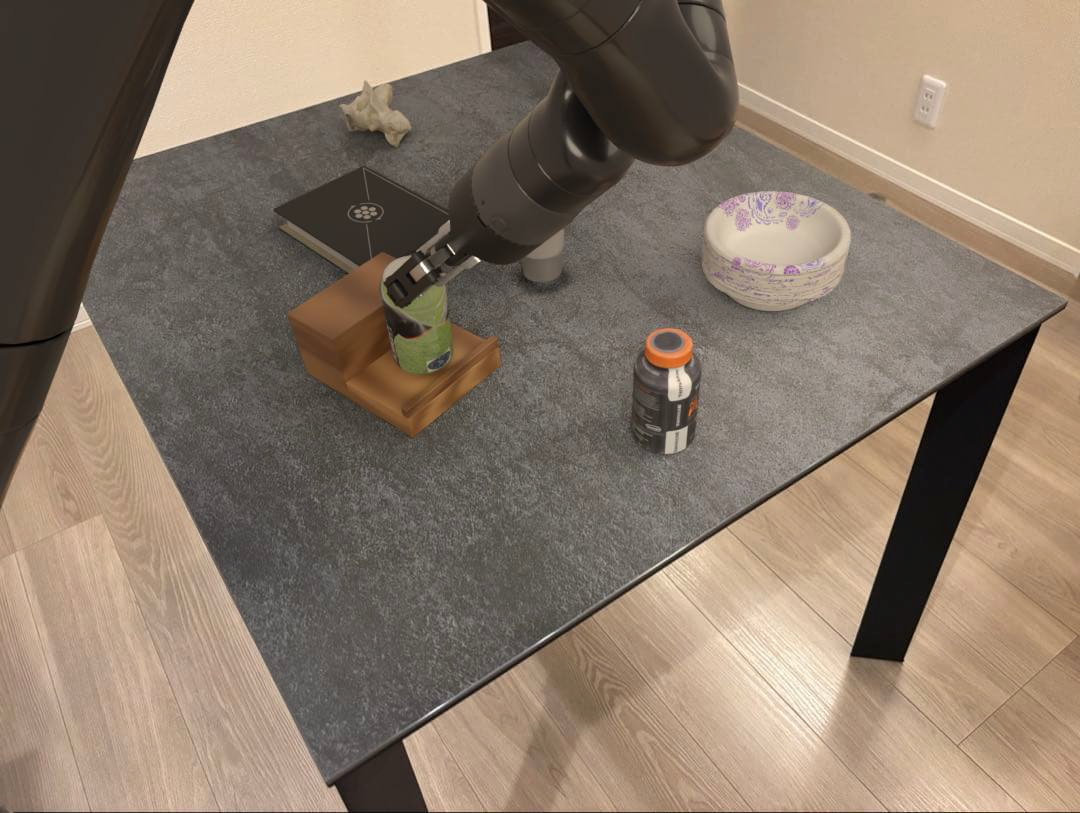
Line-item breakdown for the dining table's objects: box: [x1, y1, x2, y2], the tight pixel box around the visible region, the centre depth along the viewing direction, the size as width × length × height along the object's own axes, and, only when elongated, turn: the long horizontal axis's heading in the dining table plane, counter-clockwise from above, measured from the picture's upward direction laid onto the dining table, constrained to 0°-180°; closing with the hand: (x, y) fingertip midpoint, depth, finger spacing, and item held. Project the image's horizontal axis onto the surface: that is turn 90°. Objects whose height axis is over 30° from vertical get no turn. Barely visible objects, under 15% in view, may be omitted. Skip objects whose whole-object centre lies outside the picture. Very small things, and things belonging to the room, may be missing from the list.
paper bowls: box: [700, 190, 852, 312], centre depth 90 cm, size 15×15×8 cm
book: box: [272, 165, 449, 275], centre depth 105 cm, size 22×15×3 cm
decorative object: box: [338, 79, 413, 148], centre depth 122 cm, size 9×14×8 cm, turn 34°
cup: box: [520, 227, 565, 283], centre depth 94 cm, size 7×7×12 cm
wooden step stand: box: [286, 252, 502, 438], centre depth 84 cm, size 13×16×8 cm
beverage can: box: [379, 256, 453, 375], centre depth 79 cm, size 6×7×12 cm
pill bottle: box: [631, 327, 702, 455], centre depth 74 cm, size 6×6×11 cm
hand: (430, 273), depth 73 cm, fingers open, 8 cm apart
